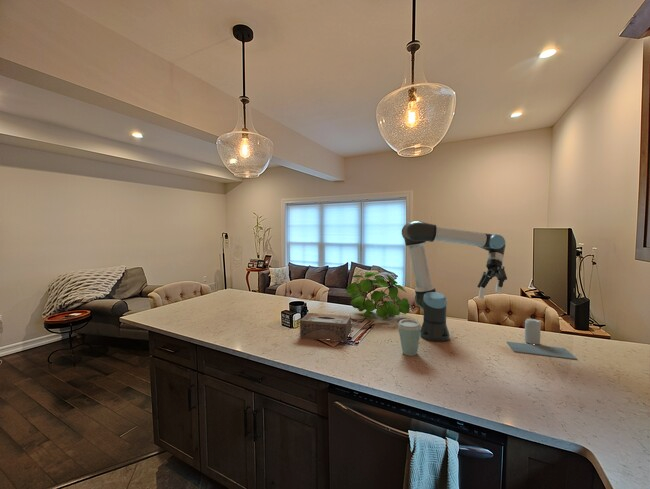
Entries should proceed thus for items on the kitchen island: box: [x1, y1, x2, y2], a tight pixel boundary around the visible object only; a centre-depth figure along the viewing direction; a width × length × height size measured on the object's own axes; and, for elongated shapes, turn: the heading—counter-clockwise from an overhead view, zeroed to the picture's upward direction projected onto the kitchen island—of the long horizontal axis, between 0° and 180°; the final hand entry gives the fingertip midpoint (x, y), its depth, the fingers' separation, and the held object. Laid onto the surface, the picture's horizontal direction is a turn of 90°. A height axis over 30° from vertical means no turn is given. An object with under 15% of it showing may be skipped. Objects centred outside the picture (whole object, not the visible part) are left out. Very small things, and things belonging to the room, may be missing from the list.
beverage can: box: [524, 318, 542, 345], centre depth 139 cm, size 6×6×12 cm
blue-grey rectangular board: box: [506, 341, 578, 360], centre depth 130 cm, size 24×12×1 cm, turn 69°
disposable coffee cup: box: [397, 318, 422, 357], centre depth 128 cm, size 11×11×15 cm
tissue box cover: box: [299, 312, 352, 343], centre depth 151 cm, size 26×14×10 cm, turn 75°
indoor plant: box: [345, 271, 410, 319], centre depth 189 cm, size 44×42×30 cm
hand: (489, 295), depth 144 cm, fingers open, 13 cm apart
